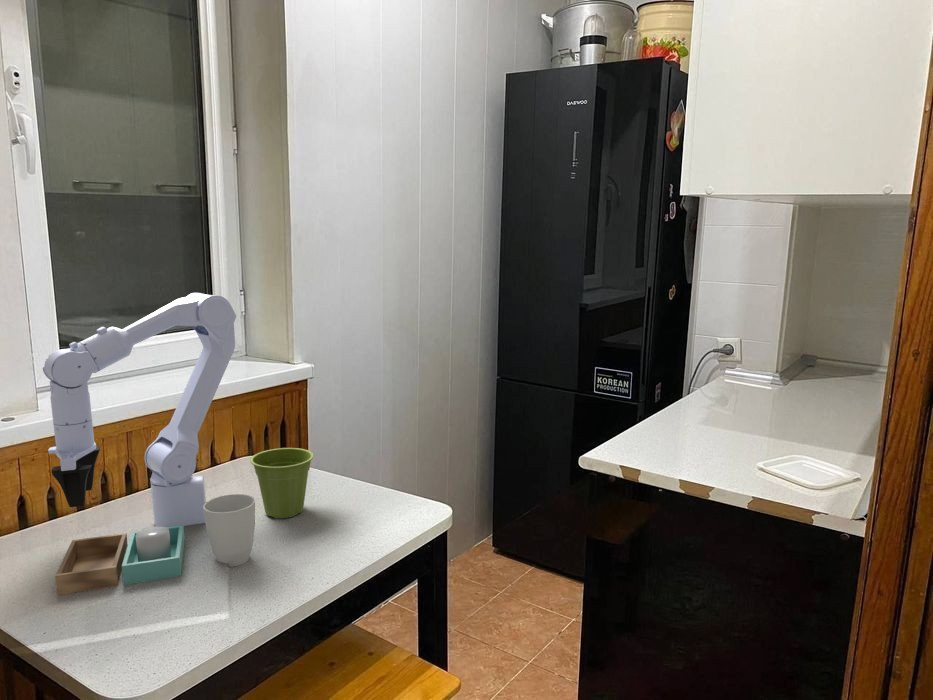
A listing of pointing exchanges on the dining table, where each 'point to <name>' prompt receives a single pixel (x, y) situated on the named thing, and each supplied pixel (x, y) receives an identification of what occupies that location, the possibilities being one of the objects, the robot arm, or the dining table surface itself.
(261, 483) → the plant pot
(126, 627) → the dining table surface
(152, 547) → the white rounded cube
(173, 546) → the teal bin
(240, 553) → the cup
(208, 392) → the robot arm
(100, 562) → the walnut bin
